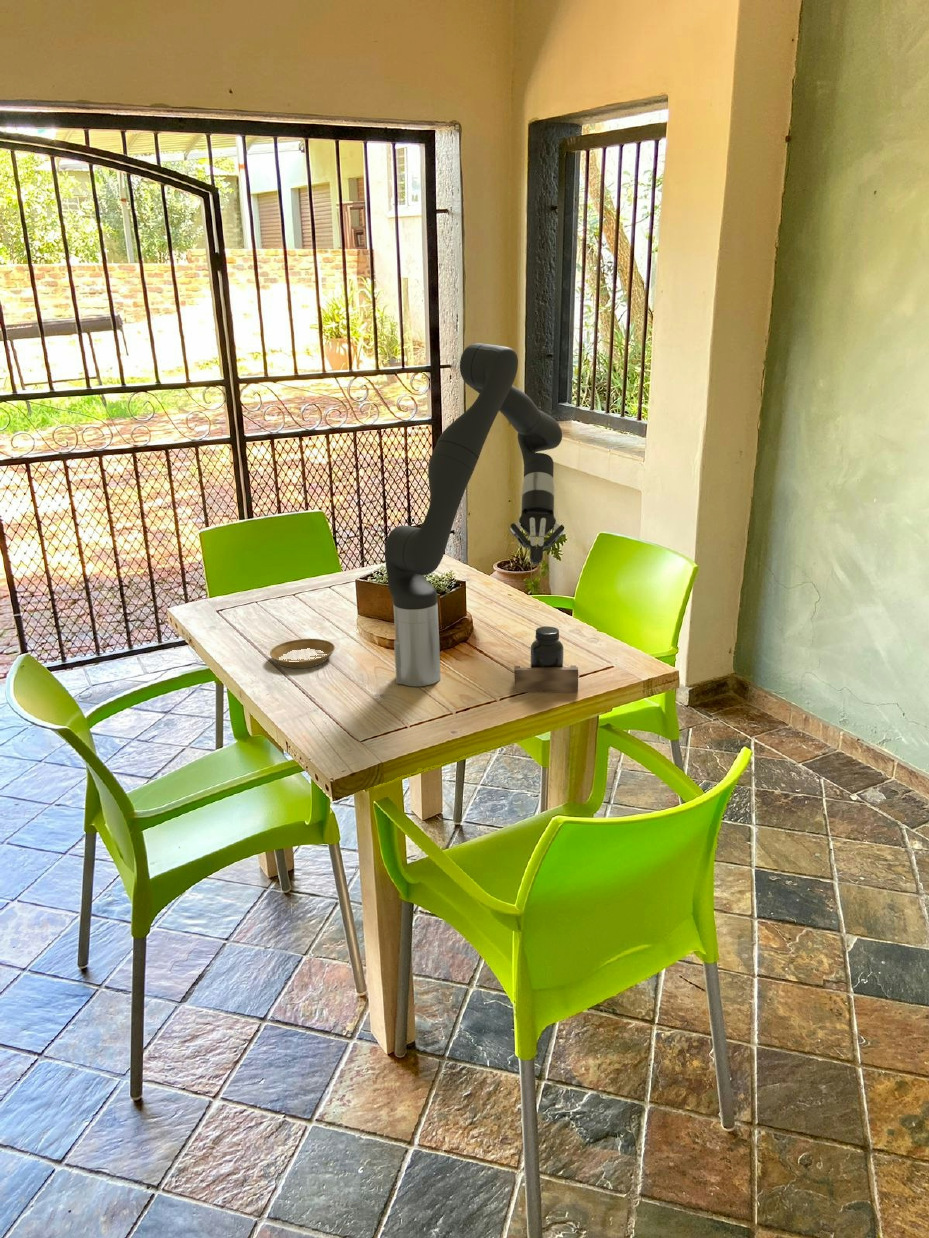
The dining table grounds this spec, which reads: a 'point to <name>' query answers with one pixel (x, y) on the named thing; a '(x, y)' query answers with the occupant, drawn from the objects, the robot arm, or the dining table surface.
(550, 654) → the supplement bottle
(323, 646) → the plant saucer
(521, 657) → the dining table surface
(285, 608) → the dining table surface
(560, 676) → the block
